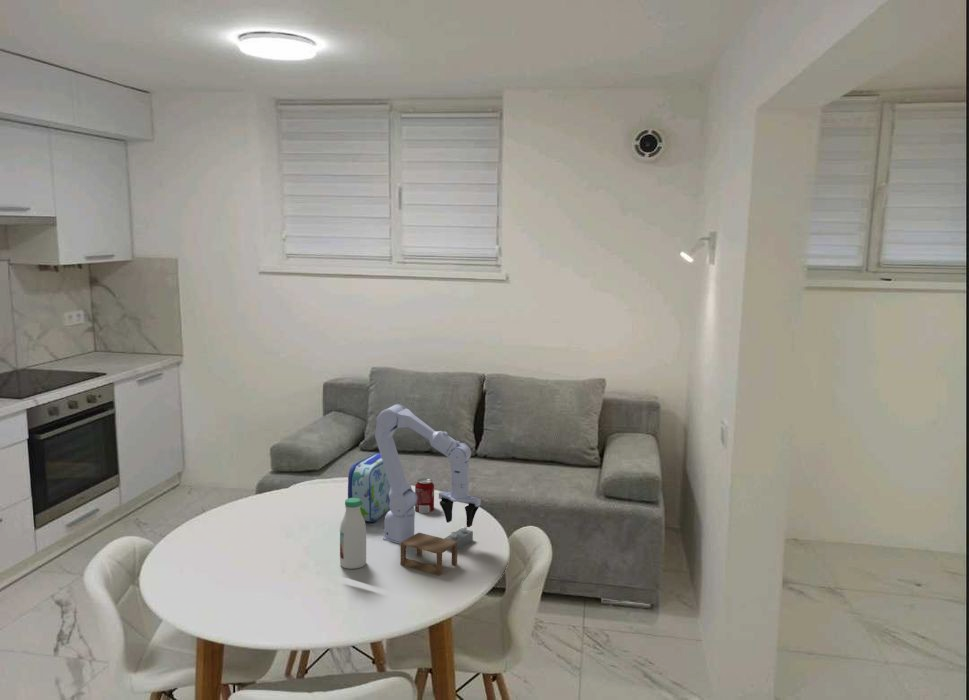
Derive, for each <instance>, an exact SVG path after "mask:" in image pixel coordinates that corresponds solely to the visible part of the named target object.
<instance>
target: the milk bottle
mask: <svg viewBox="0 0 969 700" xmlns="http://www.w3.org/2000/svg"><path fill="white" fill-rule="evenodd" d="M344 501H345V502H344V505H345V507H344V508H345V513H344V516H343V517H342V520H341V522H340V528H339V564H340V566H341V568H344V569H348V570H355V569H359V568H363V567H364V566H366V564H367V527H366V521H364V518H363V516H362V514H361V511H360V507H361V500H360V499H359V498H348V497H347V499H345V500H344Z"/></svg>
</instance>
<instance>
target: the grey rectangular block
mask: <svg viewBox="0 0 969 700" xmlns="http://www.w3.org/2000/svg"><path fill="white" fill-rule="evenodd" d="M473 535H474V532H473V530H468V527H467V525H462V526H460V528H459V529H458V530H455V531H451V532H450V534H449V535H448V536H446V537H443V539H448V540H452V541H456V542H457V552H458V551H460V550H461V549H463V548H465V546H467V545H469V543H471V542H473V538H474V536H473ZM447 551H450V552H452V547H451V548H450V549H448V550H447Z"/></svg>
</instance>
